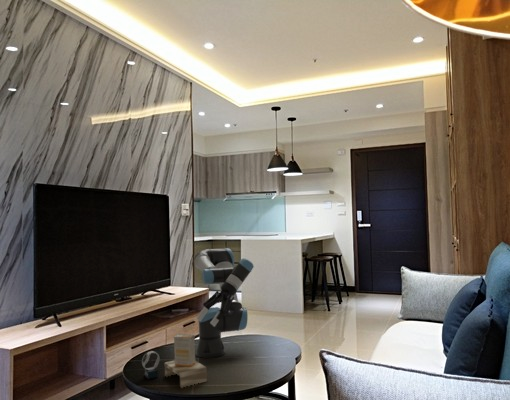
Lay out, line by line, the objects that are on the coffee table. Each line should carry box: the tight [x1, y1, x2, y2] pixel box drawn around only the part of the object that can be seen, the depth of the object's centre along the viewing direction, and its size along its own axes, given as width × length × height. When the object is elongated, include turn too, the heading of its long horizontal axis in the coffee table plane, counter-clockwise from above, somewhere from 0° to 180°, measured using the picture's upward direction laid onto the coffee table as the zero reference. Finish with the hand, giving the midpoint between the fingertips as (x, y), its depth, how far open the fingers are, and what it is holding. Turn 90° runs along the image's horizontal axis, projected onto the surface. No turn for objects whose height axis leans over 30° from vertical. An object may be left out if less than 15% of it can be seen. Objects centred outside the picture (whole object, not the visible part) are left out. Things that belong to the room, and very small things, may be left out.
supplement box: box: [173, 333, 196, 367], centre depth 180 cm, size 8×5×13 cm, turn 72°
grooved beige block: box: [164, 359, 208, 389], centre depth 180 cm, size 18×12×6 cm, turn 36°
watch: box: [141, 350, 161, 380], centre depth 184 cm, size 6×8×11 cm
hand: (205, 322), depth 187 cm, fingers open, 13 cm apart
